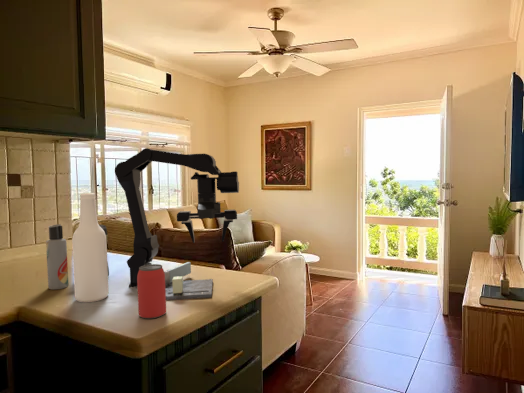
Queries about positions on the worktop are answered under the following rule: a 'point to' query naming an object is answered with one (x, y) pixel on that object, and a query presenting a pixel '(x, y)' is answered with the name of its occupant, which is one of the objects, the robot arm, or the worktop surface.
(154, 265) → the beer can
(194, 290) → the console
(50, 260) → the lotion bottle
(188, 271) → the door
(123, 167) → the robot arm
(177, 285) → the fader knob
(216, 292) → the worktop surface
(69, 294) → the worktop surface
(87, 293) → the alcohol
